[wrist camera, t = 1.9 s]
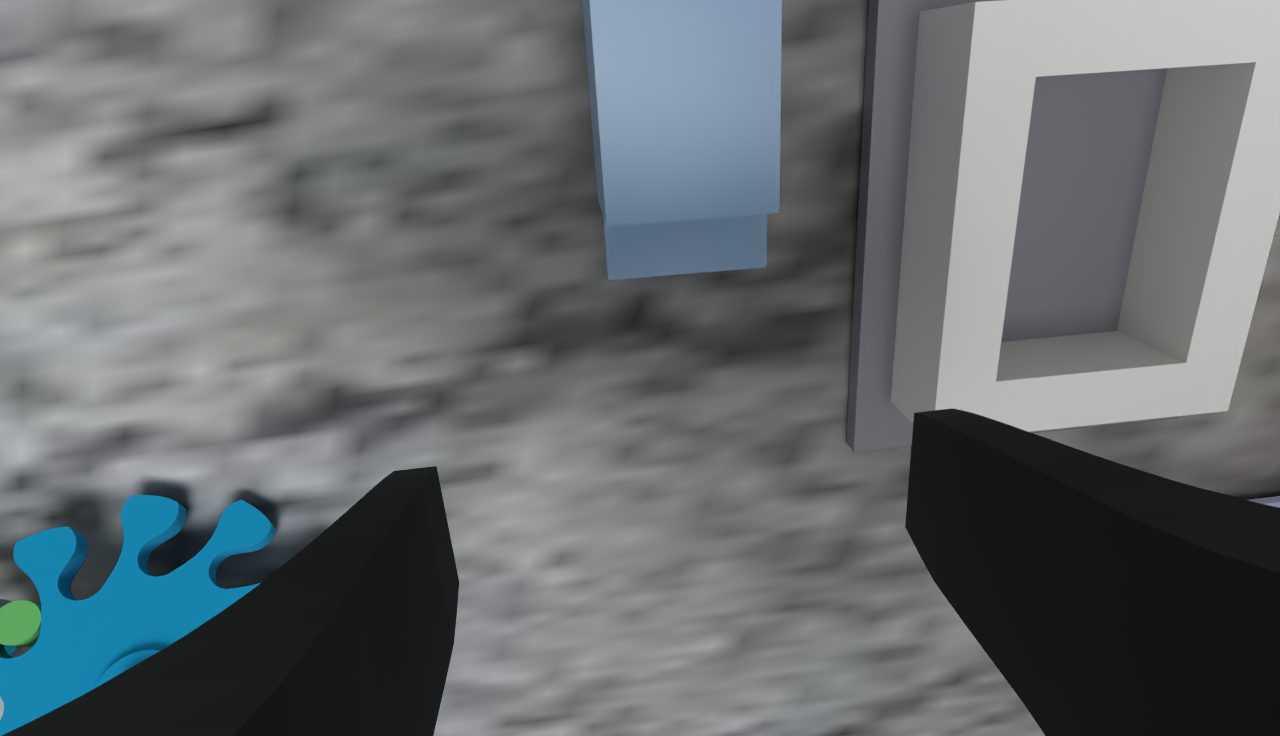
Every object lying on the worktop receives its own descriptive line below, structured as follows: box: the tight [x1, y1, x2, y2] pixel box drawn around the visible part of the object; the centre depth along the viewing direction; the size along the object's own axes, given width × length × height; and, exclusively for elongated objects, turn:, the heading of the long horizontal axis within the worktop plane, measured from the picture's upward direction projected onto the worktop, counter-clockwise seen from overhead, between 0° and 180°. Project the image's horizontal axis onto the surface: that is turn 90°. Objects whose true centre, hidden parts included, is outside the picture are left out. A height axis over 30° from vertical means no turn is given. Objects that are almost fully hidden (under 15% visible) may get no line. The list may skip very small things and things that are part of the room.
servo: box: [582, 0, 782, 280], centre depth 16 cm, size 4×8×4 cm, turn 3°
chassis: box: [846, 0, 1280, 452], centre depth 19 cm, size 10×13×3 cm
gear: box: [0, 495, 276, 736], centre depth 20 cm, size 11×6×10 cm
